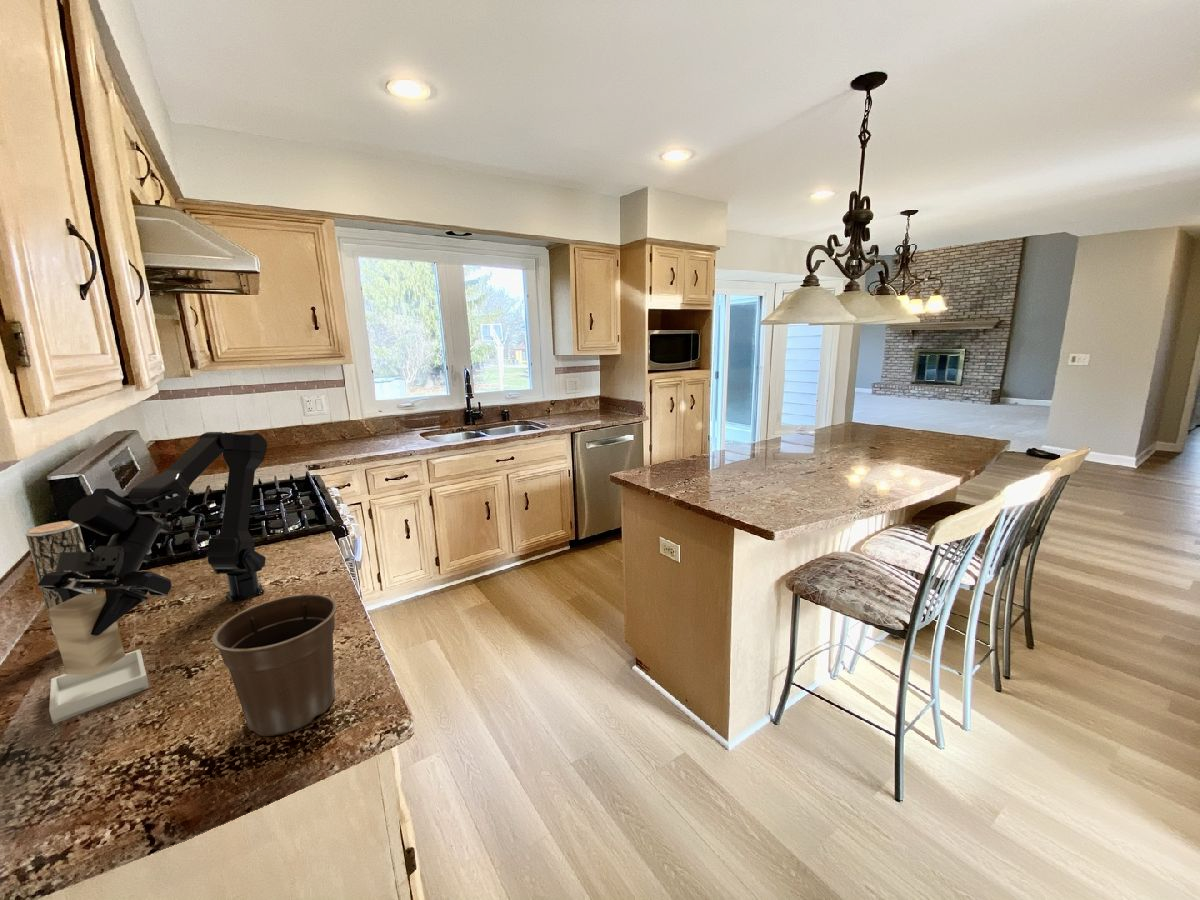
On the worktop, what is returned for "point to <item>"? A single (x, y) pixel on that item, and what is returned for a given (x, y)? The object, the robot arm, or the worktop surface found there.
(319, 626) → the plant pot
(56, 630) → the beech block
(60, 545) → the bark-printed cylinder
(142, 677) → the tray
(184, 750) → the worktop surface
